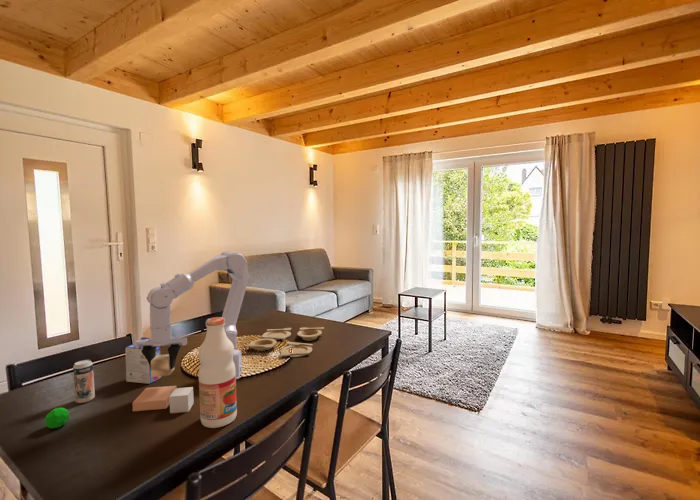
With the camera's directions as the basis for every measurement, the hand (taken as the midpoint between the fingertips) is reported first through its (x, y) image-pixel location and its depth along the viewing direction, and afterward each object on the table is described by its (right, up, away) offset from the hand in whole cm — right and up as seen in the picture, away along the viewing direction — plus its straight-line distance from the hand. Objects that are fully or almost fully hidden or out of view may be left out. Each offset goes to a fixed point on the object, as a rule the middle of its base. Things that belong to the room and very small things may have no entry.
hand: (162, 368), depth 107 cm
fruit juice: (+23, -10, -13) cm, 28 cm away
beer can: (-22, -9, -3) cm, 24 cm away
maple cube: (0, -2, 0) cm, 2 cm away
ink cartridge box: (-13, -8, +11) cm, 19 cm away
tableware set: (+30, -6, +46) cm, 56 cm away
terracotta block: (0, -9, -4) cm, 10 cm away
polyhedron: (-19, -10, -16) cm, 27 cm away
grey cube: (+10, -9, -7) cm, 15 cm away
